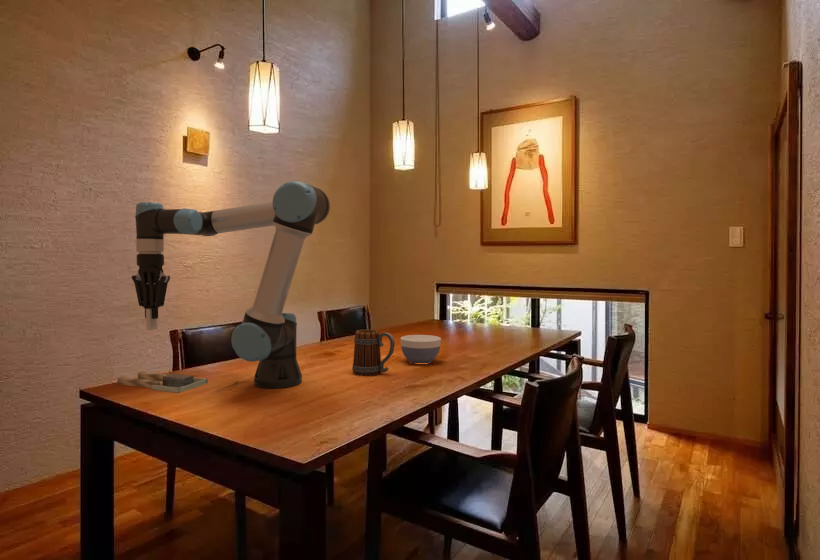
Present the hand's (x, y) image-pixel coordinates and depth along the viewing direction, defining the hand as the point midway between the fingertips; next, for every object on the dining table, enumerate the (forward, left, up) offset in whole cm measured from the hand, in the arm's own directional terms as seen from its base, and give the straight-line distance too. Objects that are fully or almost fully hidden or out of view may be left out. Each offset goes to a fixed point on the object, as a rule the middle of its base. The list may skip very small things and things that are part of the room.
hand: (151, 329), depth 155 cm
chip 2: (-12, 0, -18) cm, 22 cm away
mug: (-57, -42, -19) cm, 73 cm away
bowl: (-67, -66, -19) cm, 96 cm away
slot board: (+2, 0, -18) cm, 18 cm away
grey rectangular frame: (-11, 0, -18) cm, 21 cm away
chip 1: (-8, 0, -18) cm, 20 cm away
